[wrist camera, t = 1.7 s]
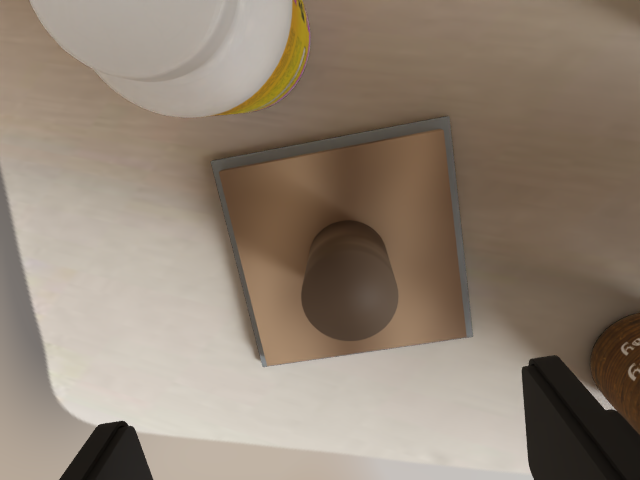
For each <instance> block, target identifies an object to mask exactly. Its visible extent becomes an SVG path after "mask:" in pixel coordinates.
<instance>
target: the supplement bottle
mask: <svg viewBox="0 0 640 480" xmlns="http://www.w3.org/2000/svg"><path fill="white" fill-rule="evenodd" d="M29 1H30V4H31V6H32V8H33V10H34V12H35V13H36V15H37V17H38V19H39V21H40V22H41V23H42V25H43V26H44V28H45V29H46V31H47V32H48V33H49V34H50V35H51V36H52V37H53V38H54V40H55V41H56V42H57V43H58V44H59V45H60V46H61V47H62V48H63V49H64V50H65V51H66V52H67V53H69V54H70V55H71V56H73V57H74V58H76V59H77V60H78V61H80V62H81V63H83V64H85V65H86V66H88V67H90V68H92V69H93V70H94V71H95V72H96V73H97V74H98V76H99V77H100V78H101V79H102V80H103V81H104V82H105V83H106V84H107V85H108V86H109V87H111V88H112V89H113V90H114V91H115V92H117V93H118V94H119V95H121V96H122V97H124V98H125V99H127V100H128V101H130V102H132V103H133V104H135V105H137V106H139V107H141V108H143V109H146V110H148V111H151V112H154V113H158V114H161V115H165V116H172V117H180V118H198V117H207V116H216V115H227V114H238V113H248V112H254V111H258V110H262V109H265V108H267V107H270V106H272V105H274V104H276V103H277V102H279V101H280V100H282V99H283V98H284V97H286V96H287V95H288V94H289V93H290V92H291V90H292V89H293V88H294V87H295V86H296V84H297V83H298V81H299V80H300V78H301V76H302V74H303V72H304V70H305V67H306V64H307V61H308V57H309V52H310V41H311V37H310V26H309V20H308V16H307V13H306V9H305V7H304V4H303V2H302V0H29Z"/></svg>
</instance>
